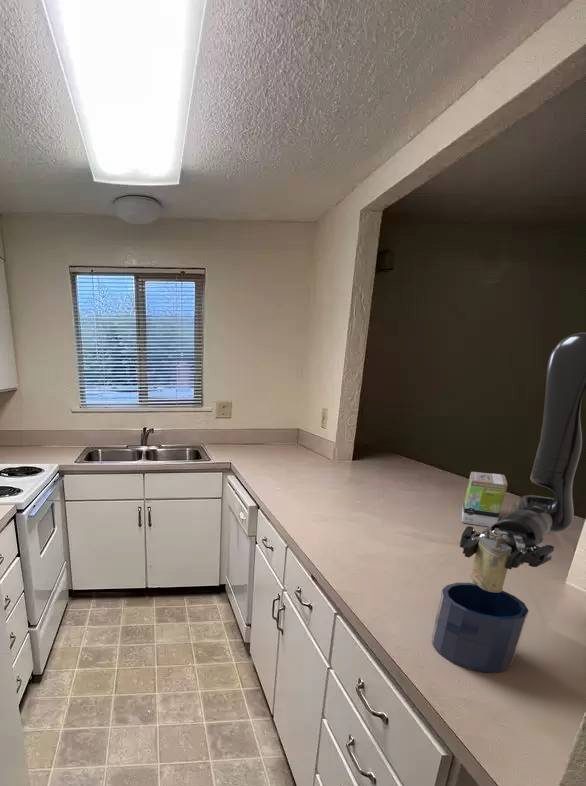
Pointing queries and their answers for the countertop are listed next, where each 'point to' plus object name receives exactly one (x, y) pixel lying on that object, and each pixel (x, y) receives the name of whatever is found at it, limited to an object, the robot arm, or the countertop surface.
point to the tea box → (484, 498)
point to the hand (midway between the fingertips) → (488, 557)
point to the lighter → (491, 561)
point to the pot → (478, 627)
